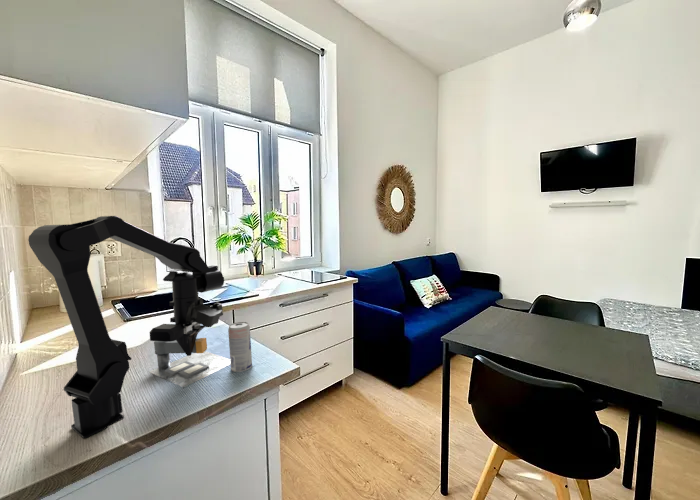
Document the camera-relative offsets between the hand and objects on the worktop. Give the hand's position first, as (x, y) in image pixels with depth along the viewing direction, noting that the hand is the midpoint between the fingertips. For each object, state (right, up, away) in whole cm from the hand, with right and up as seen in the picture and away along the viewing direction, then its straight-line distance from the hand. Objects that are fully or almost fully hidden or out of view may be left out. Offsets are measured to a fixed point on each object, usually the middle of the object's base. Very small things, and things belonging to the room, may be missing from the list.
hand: (189, 355), depth 79 cm
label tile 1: (+1, -4, +1) cm, 4 cm away
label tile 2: (-4, -4, +2) cm, 6 cm away
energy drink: (+13, -4, +2) cm, 14 cm away
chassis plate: (-1, -5, +3) cm, 6 cm away
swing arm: (-4, 0, +3) cm, 5 cm away
